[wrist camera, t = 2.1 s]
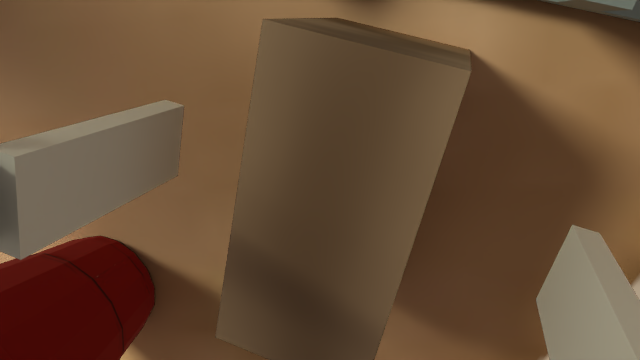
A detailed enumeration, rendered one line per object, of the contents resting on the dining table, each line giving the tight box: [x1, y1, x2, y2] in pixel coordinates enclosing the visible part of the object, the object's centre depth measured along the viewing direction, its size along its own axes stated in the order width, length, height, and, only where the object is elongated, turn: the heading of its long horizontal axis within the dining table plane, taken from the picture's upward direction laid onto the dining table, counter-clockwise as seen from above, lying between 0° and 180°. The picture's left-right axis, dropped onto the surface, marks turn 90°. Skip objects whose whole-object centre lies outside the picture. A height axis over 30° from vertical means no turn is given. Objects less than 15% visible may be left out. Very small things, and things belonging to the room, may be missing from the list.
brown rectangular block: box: [215, 18, 471, 360], centre depth 16 cm, size 5×10×7 cm, turn 168°
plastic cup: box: [0, 236, 155, 360], centre depth 20 cm, size 11×11×12 cm
